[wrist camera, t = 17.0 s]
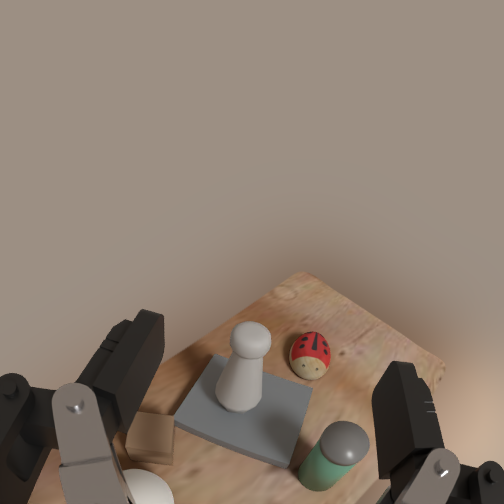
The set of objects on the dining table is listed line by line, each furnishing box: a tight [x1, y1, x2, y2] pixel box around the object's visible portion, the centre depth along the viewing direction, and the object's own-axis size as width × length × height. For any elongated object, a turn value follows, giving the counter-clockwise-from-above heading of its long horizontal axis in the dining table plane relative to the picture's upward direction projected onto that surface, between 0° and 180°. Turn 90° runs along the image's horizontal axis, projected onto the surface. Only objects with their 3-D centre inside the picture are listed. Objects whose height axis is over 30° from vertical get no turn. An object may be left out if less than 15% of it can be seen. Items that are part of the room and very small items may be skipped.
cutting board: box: [174, 354, 313, 469], centre depth 39 cm, size 15×13×2 cm
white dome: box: [123, 469, 174, 504], centre depth 23 cm, size 7×7×4 cm
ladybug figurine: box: [289, 332, 330, 380], centre depth 49 cm, size 7×10×4 cm
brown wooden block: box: [125, 411, 175, 466], centre depth 31 cm, size 5×5×4 cm
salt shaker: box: [215, 321, 271, 414], centre depth 35 cm, size 6×6×13 cm
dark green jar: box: [298, 421, 370, 491], centre depth 29 cm, size 5×5×9 cm
